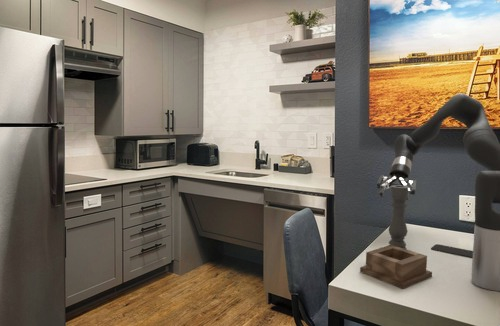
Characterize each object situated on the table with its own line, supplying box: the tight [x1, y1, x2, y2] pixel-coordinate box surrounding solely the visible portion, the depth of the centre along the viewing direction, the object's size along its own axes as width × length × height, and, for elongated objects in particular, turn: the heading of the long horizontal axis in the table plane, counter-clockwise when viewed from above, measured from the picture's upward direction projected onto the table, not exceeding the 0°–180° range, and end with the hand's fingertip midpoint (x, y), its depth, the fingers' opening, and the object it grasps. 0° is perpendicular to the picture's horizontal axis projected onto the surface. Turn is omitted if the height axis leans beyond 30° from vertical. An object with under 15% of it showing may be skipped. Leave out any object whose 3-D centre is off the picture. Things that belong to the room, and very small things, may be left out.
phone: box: [430, 243, 473, 259], centre depth 136 cm, size 7×1×15 cm
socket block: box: [359, 244, 433, 290], centre depth 115 cm, size 15×15×6 cm
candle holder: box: [388, 185, 410, 250], centre depth 130 cm, size 6×6×25 cm
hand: (393, 197), depth 144 cm, fingers open, 8 cm apart
